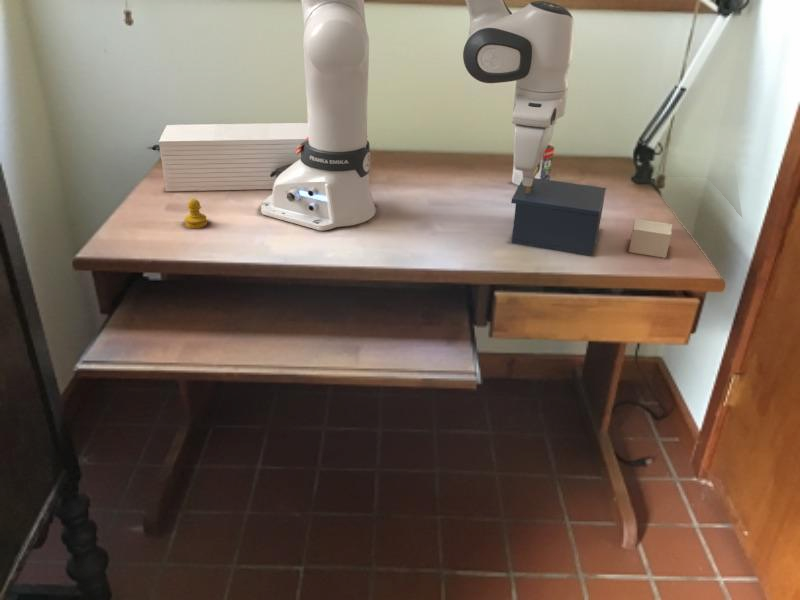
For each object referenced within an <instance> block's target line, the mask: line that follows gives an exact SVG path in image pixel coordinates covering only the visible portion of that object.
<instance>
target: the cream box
mask: <svg viewBox="0 0 800 600" xmlns="http://www.w3.org/2000/svg"><path fill="white" fill-rule="evenodd" d="M672 229H673V224H672V223H667V222H659V221H653V220H647V219H646V220H645V219H639V218H635V219H634V221H633V227H632V232H631V237H630V240H629V241H630V242H629V248H628V253H632V254H639V255H645V256H652V257H657V258H662V259H667V256H668V251H669V247H670V244H671V243H670V242H671V239H672Z"/></svg>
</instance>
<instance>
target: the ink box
mask: <svg viewBox="0 0 800 600" xmlns="http://www.w3.org/2000/svg"><path fill="white" fill-rule="evenodd" d="M554 151H555V146H553V145H550V144H548V146H547V148H546V150H545V152H544V154H543V156H542V160H541V166H540V170H539V172H538V173H537V174H536V176H535V178H537V179H544V180H551V175H552V168H553V159H554ZM512 166H513V167H512V175H511V176H512V177H511V183H512V184H513V185H516V186H517V187H519V185H520V183H521V181H522V179H523V174H522V171H521V170H516V169H515V167H514V164H512Z"/></svg>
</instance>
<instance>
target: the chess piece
mask: <svg viewBox="0 0 800 600" xmlns="http://www.w3.org/2000/svg"><path fill="white" fill-rule="evenodd" d="M201 208H202V206H201V203H200V201H199V200H198V199H197V198H192V199H190V200H189V201H188V203H187V210H189V213H188V215H186V216H185V217H184V222H185V226H186V228H189V229H201V228H204V227H205V226H207V224H208V220H207V215H206V214H204V213H201V212H200V209H201Z"/></svg>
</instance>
